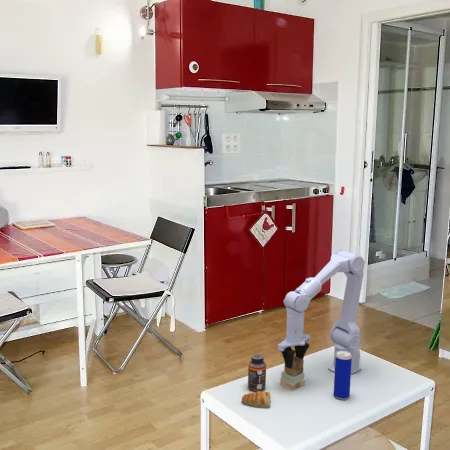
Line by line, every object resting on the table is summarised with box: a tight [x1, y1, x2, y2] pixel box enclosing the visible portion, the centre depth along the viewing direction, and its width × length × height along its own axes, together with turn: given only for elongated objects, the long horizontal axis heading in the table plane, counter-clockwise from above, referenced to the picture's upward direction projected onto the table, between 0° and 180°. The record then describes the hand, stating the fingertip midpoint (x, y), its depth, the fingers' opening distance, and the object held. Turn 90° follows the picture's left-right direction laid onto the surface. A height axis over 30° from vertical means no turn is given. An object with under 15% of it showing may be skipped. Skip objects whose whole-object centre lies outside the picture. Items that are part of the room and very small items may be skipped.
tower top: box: [280, 371, 305, 384], centre depth 186 cm, size 6×6×2 cm
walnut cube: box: [283, 355, 305, 376], centre depth 185 cm, size 4×4×4 cm
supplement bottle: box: [247, 353, 267, 392], centre depth 183 cm, size 6×6×11 cm
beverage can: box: [333, 351, 352, 401], centre depth 178 cm, size 5×5×15 cm
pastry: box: [241, 391, 272, 409], centre depth 174 cm, size 9×7×4 cm
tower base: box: [279, 378, 306, 392], centre depth 187 cm, size 6×6×2 cm
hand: (293, 365), depth 185 cm, fingers open, 5 cm apart
